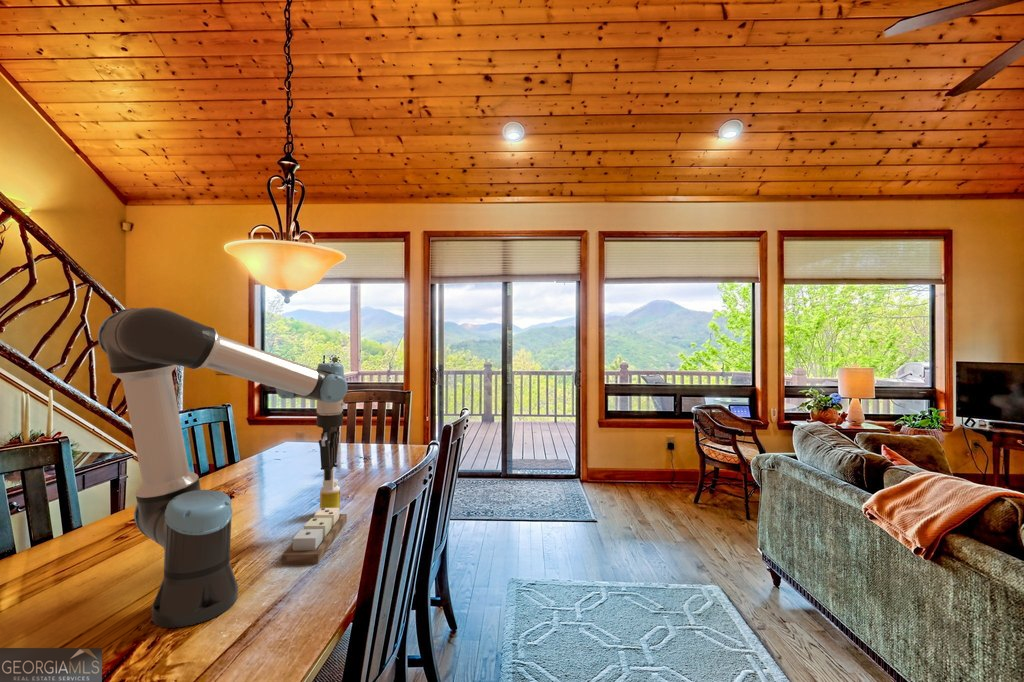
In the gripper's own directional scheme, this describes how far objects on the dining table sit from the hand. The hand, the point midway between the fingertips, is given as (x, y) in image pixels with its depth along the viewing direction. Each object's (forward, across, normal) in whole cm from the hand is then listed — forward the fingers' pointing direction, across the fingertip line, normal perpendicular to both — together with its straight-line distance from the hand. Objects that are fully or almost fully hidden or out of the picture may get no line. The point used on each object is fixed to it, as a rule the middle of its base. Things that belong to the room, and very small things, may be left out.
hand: (328, 489), depth 136 cm
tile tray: (+12, -8, 0) cm, 15 cm away
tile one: (+10, -16, 0) cm, 19 cm away
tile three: (+10, 0, 0) cm, 10 cm away
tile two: (+10, -8, 0) cm, 13 cm away
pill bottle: (+12, +13, +3) cm, 18 cm away
